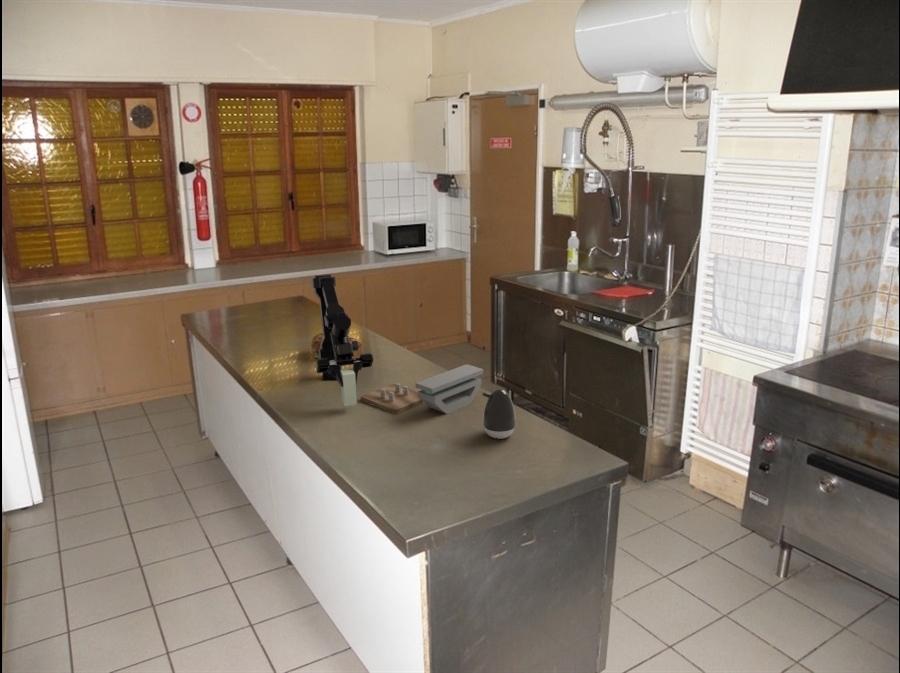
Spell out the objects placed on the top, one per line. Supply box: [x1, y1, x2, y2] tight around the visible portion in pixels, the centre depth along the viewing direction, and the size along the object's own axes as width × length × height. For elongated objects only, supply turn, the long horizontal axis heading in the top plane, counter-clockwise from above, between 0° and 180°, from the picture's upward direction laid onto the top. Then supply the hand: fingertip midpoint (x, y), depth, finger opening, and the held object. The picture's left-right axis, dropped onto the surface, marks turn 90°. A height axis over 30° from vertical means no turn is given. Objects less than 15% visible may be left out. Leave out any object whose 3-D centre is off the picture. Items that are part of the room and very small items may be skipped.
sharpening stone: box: [414, 363, 484, 415], centre depth 235 cm, size 25×8×11 cm, turn 137°
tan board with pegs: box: [360, 382, 424, 415], centre depth 241 cm, size 16×18×4 cm
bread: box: [310, 332, 363, 359], centre depth 284 cm, size 19×11×10 cm, turn 63°
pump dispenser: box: [481, 388, 517, 440], centre depth 212 cm, size 10×10×15 cm
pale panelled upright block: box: [340, 368, 358, 407], centre depth 231 cm, size 4×6×11 cm
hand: (349, 385), depth 229 cm, fingers closed on pale panelled upright block, 4 cm apart
